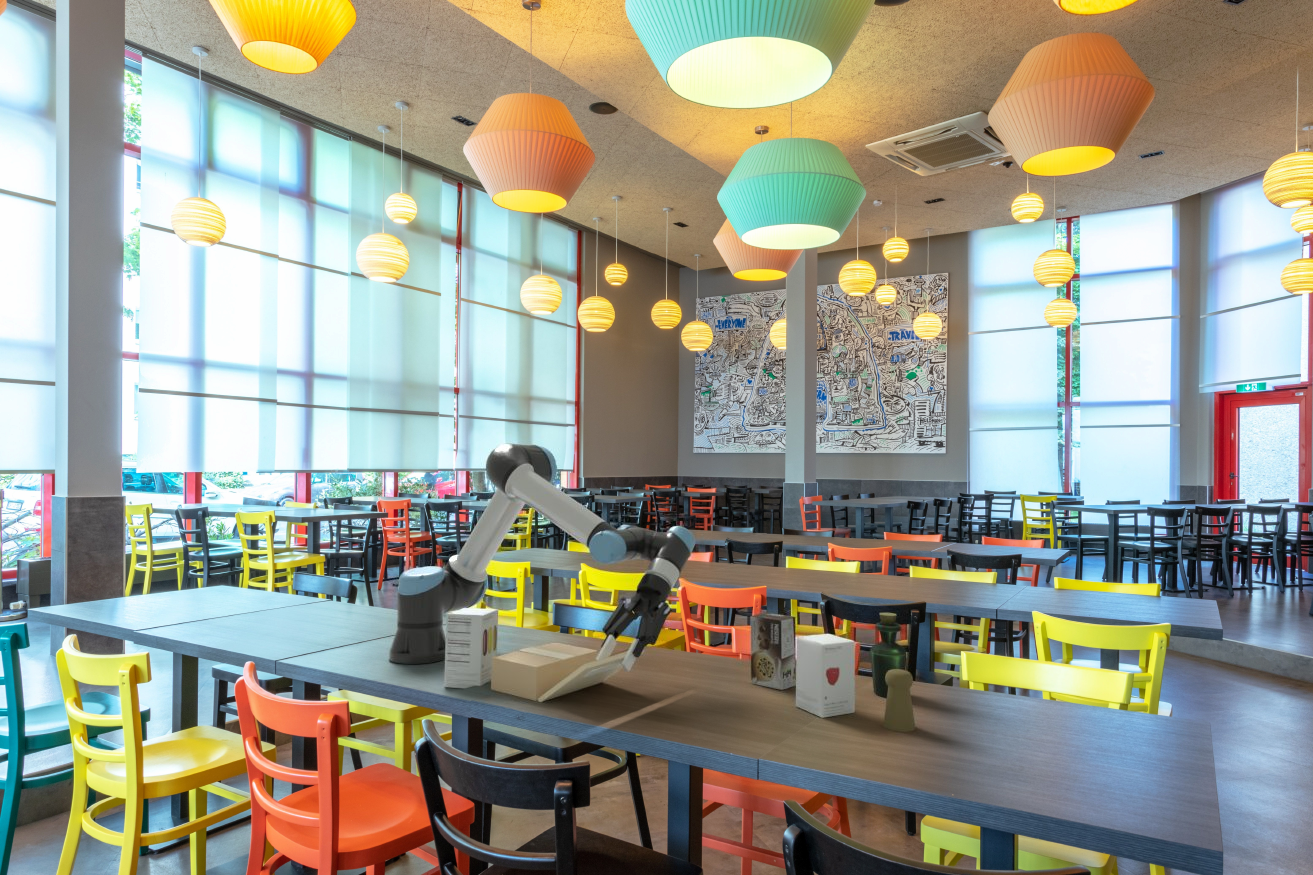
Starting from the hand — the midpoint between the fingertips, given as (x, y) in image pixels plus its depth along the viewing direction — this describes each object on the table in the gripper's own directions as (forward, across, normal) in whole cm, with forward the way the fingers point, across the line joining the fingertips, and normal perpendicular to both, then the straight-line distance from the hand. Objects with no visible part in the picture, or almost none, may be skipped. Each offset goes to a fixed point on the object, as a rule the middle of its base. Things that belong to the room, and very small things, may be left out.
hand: (612, 665), depth 165 cm
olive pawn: (-10, -55, -21) cm, 60 cm away
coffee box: (-19, -21, -30) cm, 41 cm away
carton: (+7, +18, -4) cm, 20 cm away
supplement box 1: (+12, +35, +1) cm, 37 cm away
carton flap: (+6, +10, -3) cm, 12 cm away
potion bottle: (-26, -46, -36) cm, 64 cm away
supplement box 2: (-11, -39, -22) cm, 46 cm away
